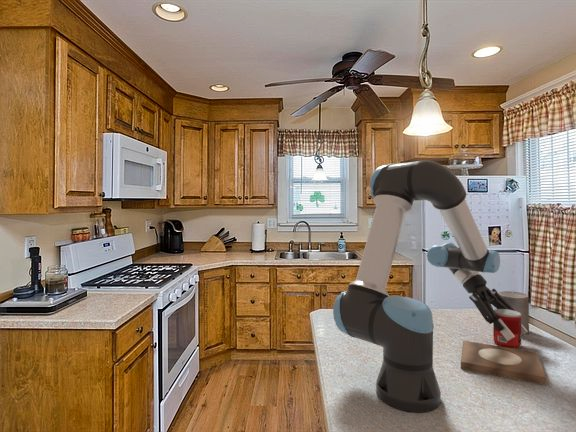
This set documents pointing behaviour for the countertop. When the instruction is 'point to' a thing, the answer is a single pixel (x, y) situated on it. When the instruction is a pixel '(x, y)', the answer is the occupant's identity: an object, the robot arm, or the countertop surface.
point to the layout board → (502, 362)
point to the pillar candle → (518, 305)
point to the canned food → (512, 322)
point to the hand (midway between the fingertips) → (517, 336)
